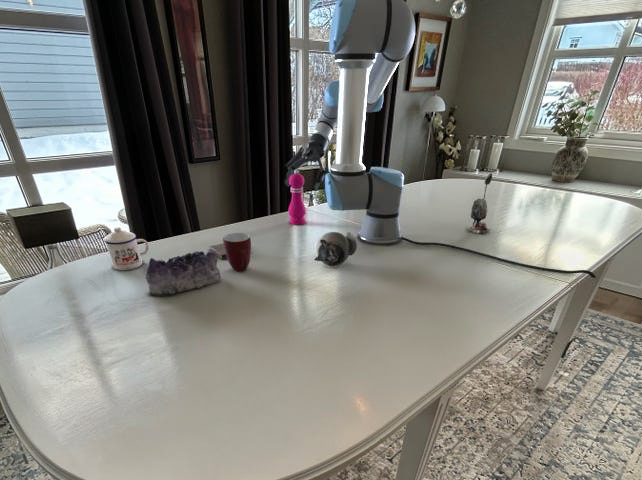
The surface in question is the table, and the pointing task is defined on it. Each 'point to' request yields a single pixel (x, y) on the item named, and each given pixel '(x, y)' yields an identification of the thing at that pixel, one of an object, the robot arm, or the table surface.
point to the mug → (238, 250)
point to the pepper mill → (297, 199)
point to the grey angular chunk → (218, 250)
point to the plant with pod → (480, 211)
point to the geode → (182, 273)
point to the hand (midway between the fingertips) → (300, 186)
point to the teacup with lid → (124, 249)
